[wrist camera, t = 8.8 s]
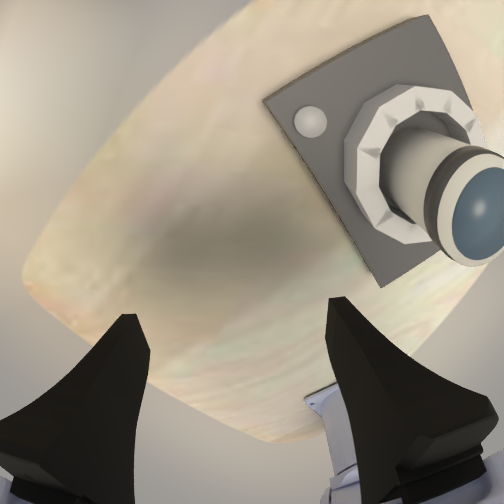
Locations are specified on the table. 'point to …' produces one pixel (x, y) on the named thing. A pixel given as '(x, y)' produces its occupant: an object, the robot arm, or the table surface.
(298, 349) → the table surface
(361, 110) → the camera body
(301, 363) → the table surface
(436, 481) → the robot arm
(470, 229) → the lens
